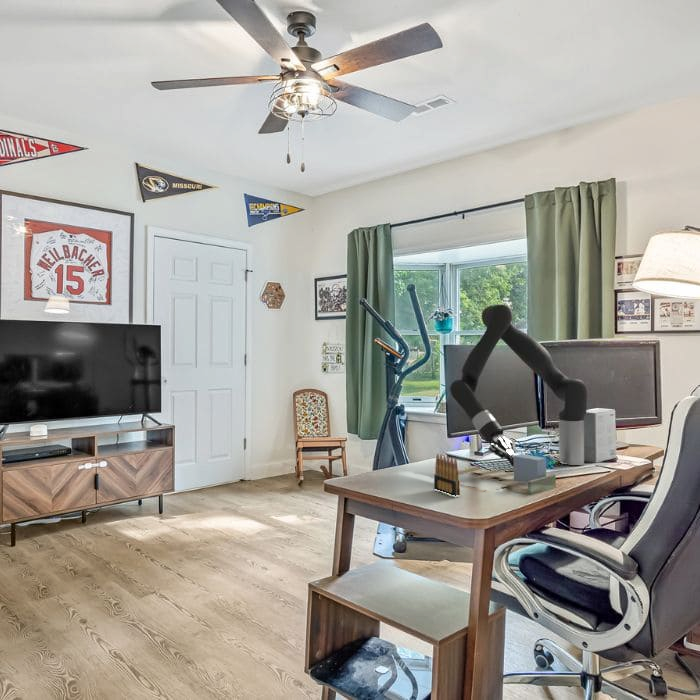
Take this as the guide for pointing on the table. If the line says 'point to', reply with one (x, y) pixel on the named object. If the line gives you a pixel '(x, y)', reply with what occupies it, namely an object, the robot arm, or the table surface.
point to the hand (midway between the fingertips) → (517, 465)
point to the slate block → (529, 467)
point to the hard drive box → (599, 435)
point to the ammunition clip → (446, 476)
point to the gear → (548, 463)
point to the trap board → (514, 485)
